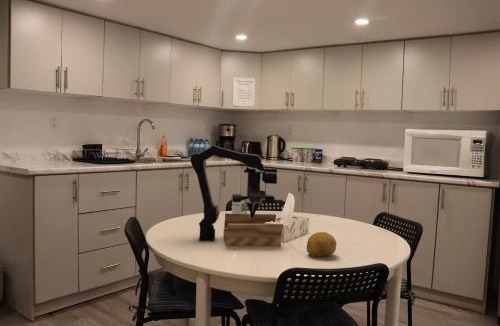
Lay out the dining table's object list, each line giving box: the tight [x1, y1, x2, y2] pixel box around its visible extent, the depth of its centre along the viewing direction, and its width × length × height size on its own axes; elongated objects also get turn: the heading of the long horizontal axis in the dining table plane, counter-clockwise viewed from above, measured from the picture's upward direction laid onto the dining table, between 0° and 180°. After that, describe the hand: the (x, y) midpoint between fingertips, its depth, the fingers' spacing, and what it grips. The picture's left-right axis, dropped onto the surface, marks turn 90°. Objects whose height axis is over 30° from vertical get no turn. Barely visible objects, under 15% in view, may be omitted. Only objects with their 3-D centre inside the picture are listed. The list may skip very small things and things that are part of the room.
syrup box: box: [231, 200, 248, 214], centre depth 226 cm, size 6×6×14 cm
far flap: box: [223, 212, 277, 229], centre depth 200 cm, size 8×24×1 cm
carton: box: [223, 228, 282, 247], centre depth 194 cm, size 24×15×4 cm, turn 98°
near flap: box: [226, 223, 284, 239], centre depth 184 cm, size 8×24×1 cm
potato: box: [306, 231, 337, 257], centre depth 176 cm, size 10×12×10 cm
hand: (252, 217), depth 192 cm, fingers closed
